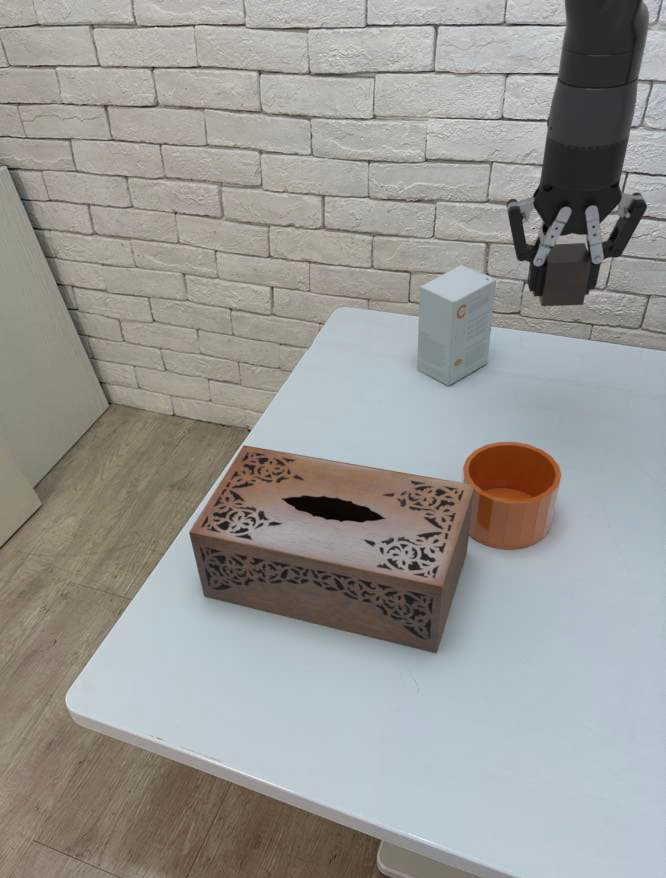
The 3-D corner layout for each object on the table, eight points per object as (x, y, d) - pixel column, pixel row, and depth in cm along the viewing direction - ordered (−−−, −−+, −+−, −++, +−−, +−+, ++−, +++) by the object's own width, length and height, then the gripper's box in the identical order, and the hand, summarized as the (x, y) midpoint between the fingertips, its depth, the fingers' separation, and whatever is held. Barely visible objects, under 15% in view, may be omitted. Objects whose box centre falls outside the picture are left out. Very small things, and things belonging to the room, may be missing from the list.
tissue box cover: (204, 596, 88) (189, 532, 81) (253, 509, 97) (243, 445, 90) (436, 653, 80) (442, 587, 73) (466, 552, 89) (474, 485, 82)
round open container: (544, 487, 95) (553, 440, 90) (557, 549, 88) (568, 502, 83) (456, 488, 96) (460, 442, 91) (462, 549, 89) (467, 503, 84)
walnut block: (576, 285, 90) (585, 242, 87) (583, 305, 87) (591, 261, 84) (536, 286, 91) (542, 244, 87) (541, 306, 88) (548, 263, 84)
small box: (455, 347, 117) (461, 263, 108) (488, 364, 114) (498, 278, 104) (415, 369, 114) (418, 285, 105) (448, 387, 111) (454, 301, 101)
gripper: (515, 148, 75) (496, 312, 87) (677, 137, 73) (635, 307, 85) (507, 120, 80) (490, 278, 93) (658, 109, 78) (621, 273, 90)
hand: (560, 291), depth 89 cm, fingers closed on walnut block, 4 cm apart
